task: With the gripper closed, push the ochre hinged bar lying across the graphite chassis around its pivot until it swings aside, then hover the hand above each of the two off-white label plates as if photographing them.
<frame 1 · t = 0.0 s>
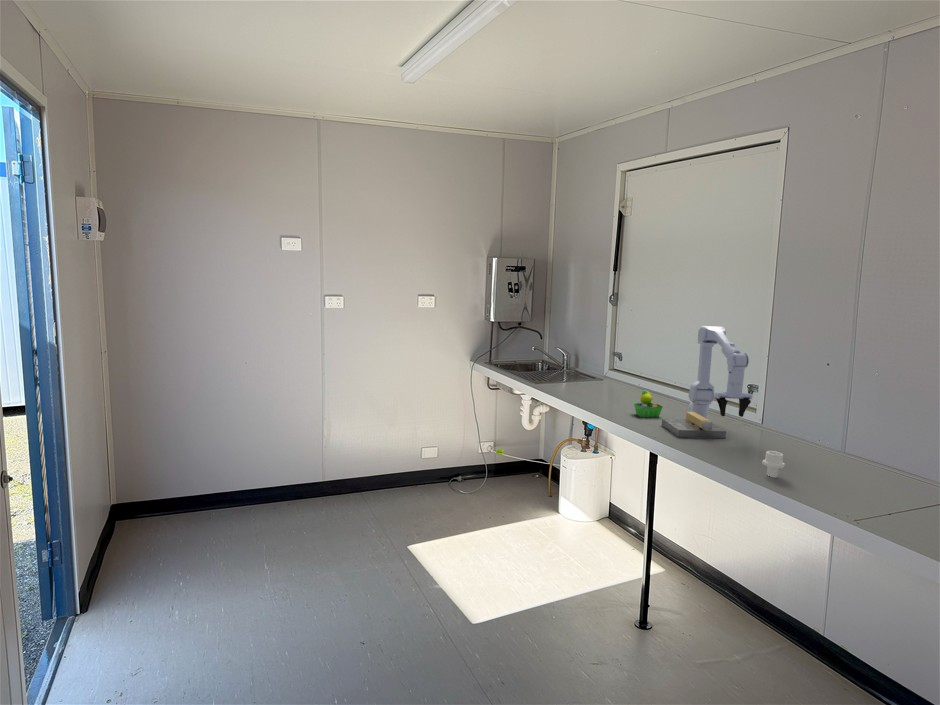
hand: (731, 416, 254), 10 cm above the countertop, fingers open, 7 cm apart
fruit basket: (646, 415, 292), on the countertop
chassis: (692, 431, 266), on the countertop
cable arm: (699, 420, 265), point 5 cm above the countertop, hinge at 0.0°
pipe fitting: (771, 476, 213), on the countertop
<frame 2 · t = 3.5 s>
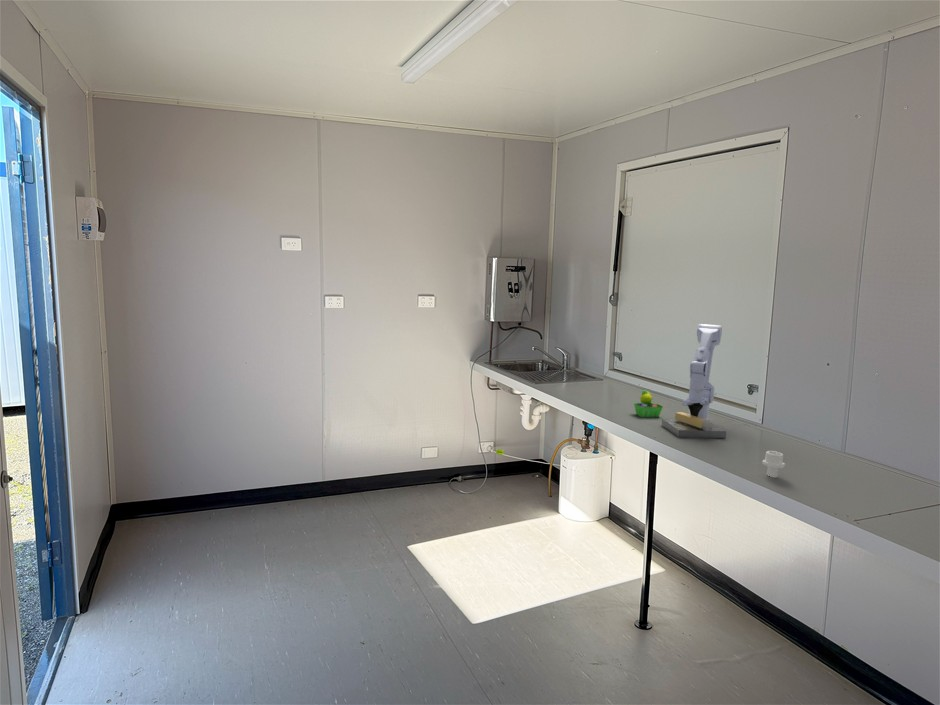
hand: (693, 420, 267), 4 cm above the countertop, fingers closed, pressing on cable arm
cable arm: (694, 420, 264), point 5 cm above the countertop, hinge at 21.2°, touching gripper
everything else where it was.
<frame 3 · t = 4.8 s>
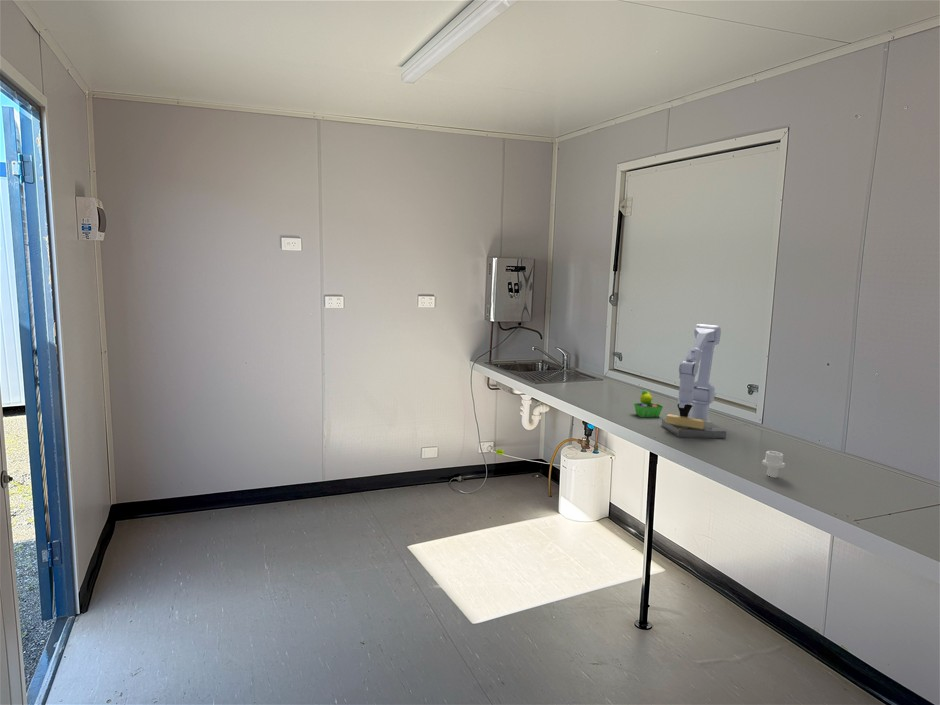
hand: (683, 421, 265), 4 cm above the countertop, fingers closed, pressing on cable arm
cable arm: (689, 422, 261), point 5 cm above the countertop, hinge at 53.0°, touching gripper
everything else where it was.
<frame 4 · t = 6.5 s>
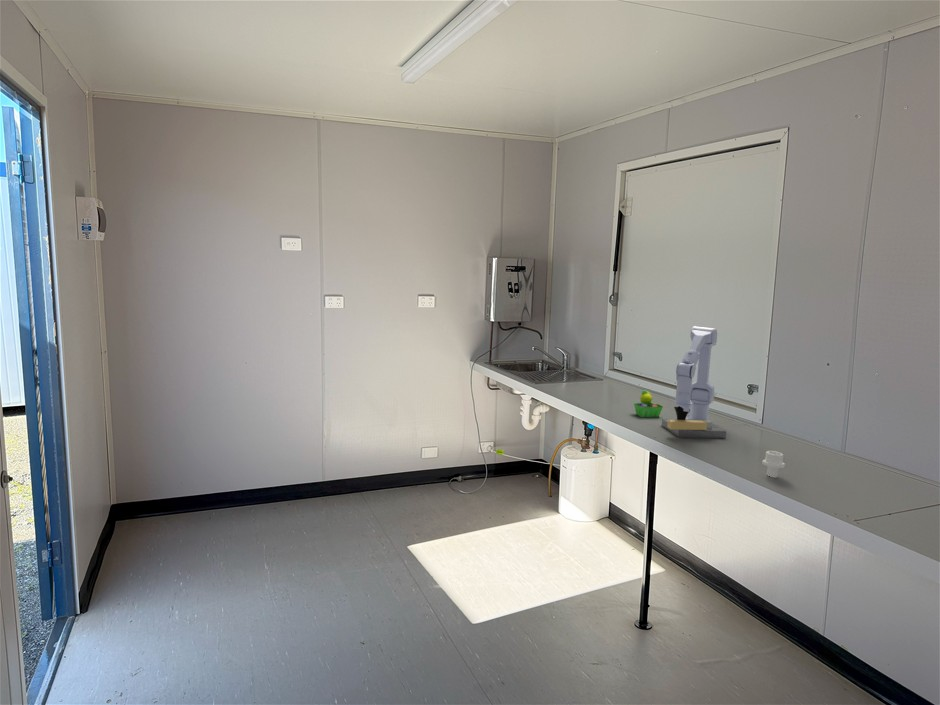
hand: (680, 424, 260), 4 cm above the countertop, fingers closed
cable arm: (690, 424, 257), point 5 cm above the countertop, hinge at 91.7°, touching gripper
everything else where it was.
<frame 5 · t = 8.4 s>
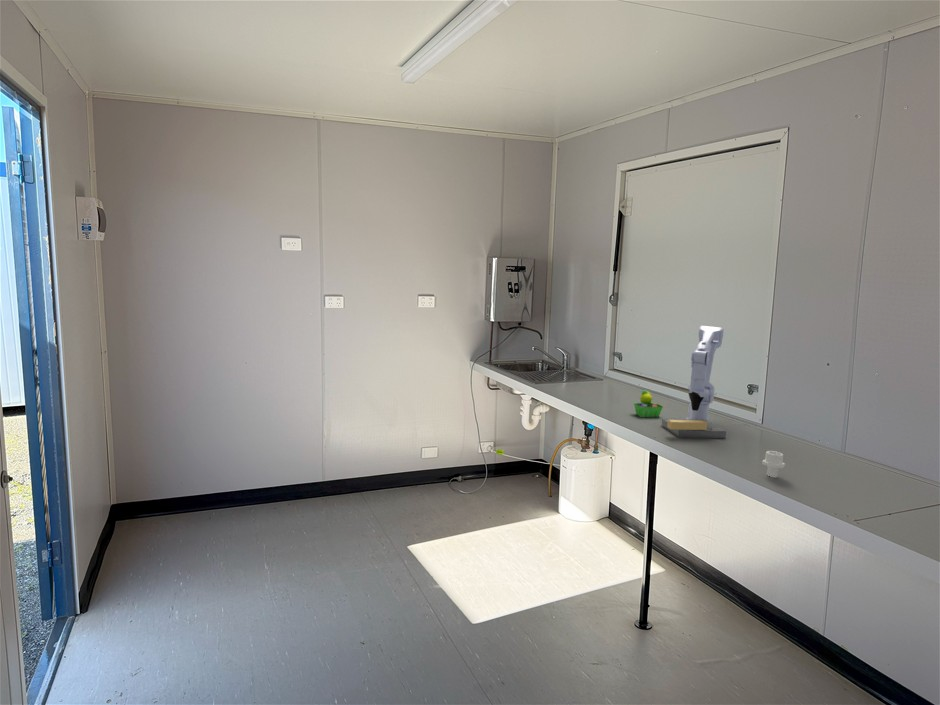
hand: (694, 410, 269), 8 cm above the countertop, fingers closed
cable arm: (690, 424, 257), point 5 cm above the countertop, hinge at 91.7°
everything else where it was.
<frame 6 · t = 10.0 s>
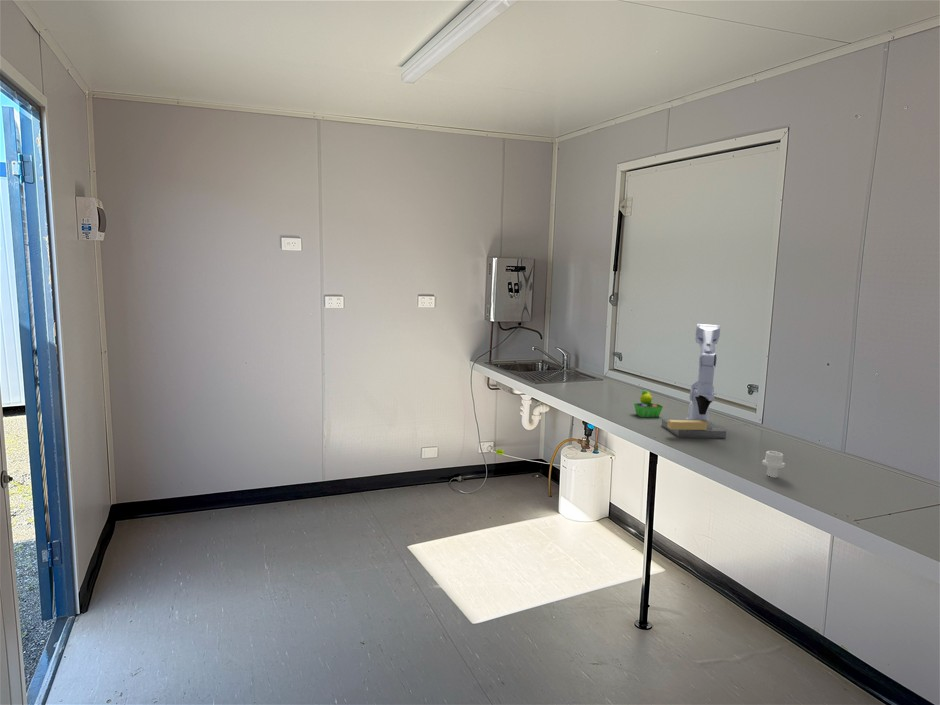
hand: (702, 414, 262), 8 cm above the countertop, fingers closed
nothing on the countertop moved.
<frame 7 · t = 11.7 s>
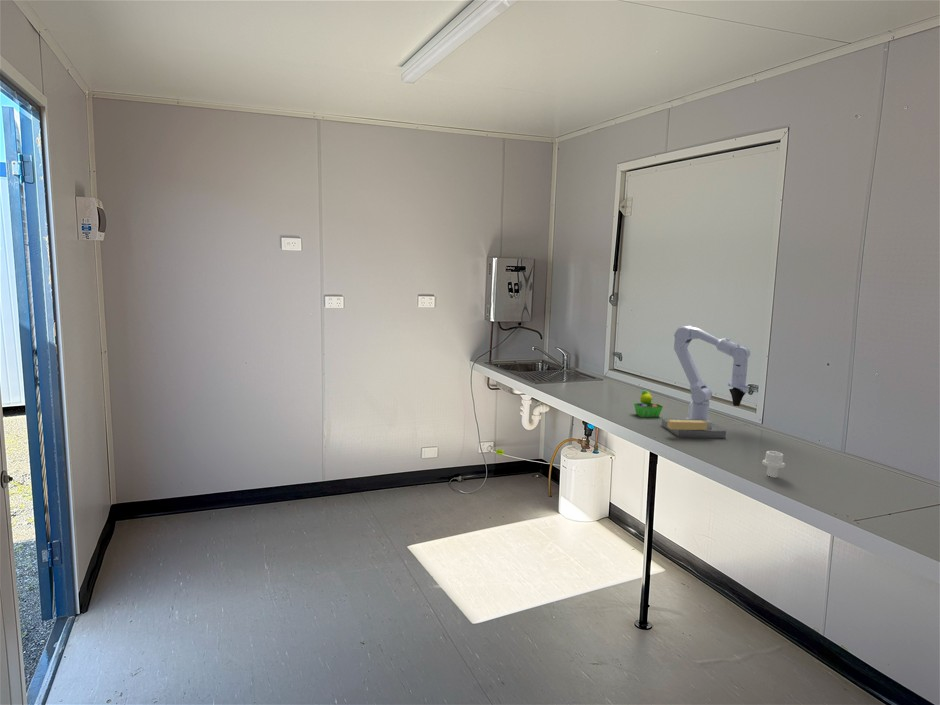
hand: (736, 405, 272), 10 cm above the countertop, fingers closed
nothing on the countertop moved.
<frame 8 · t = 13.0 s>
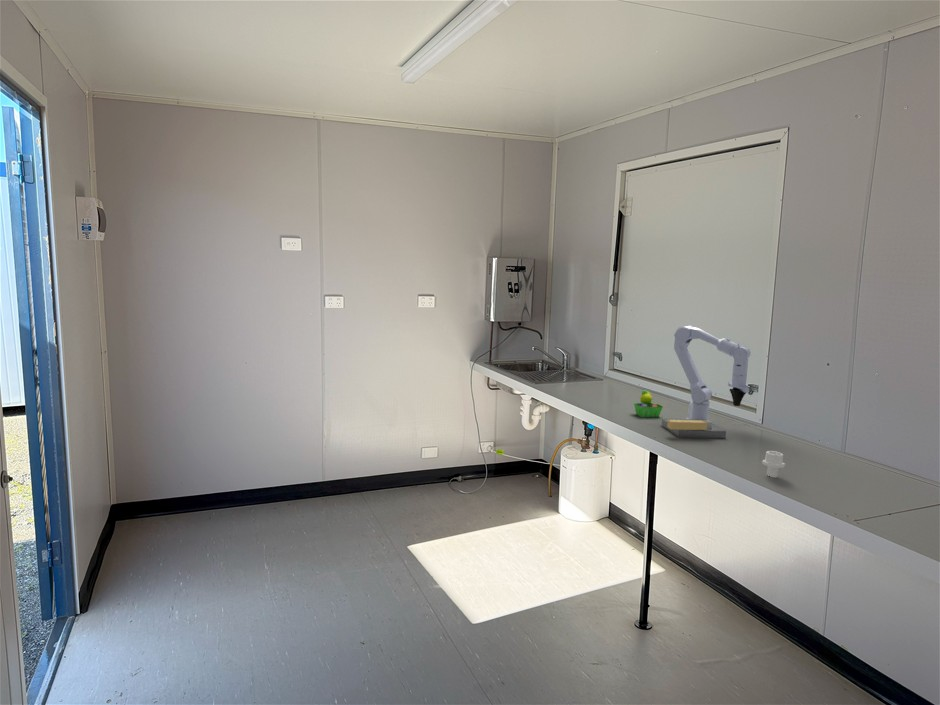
hand: (736, 405, 272), 10 cm above the countertop, fingers closed
nothing on the countertop moved.
at the end: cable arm at +92° (first picture: +0°) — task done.
